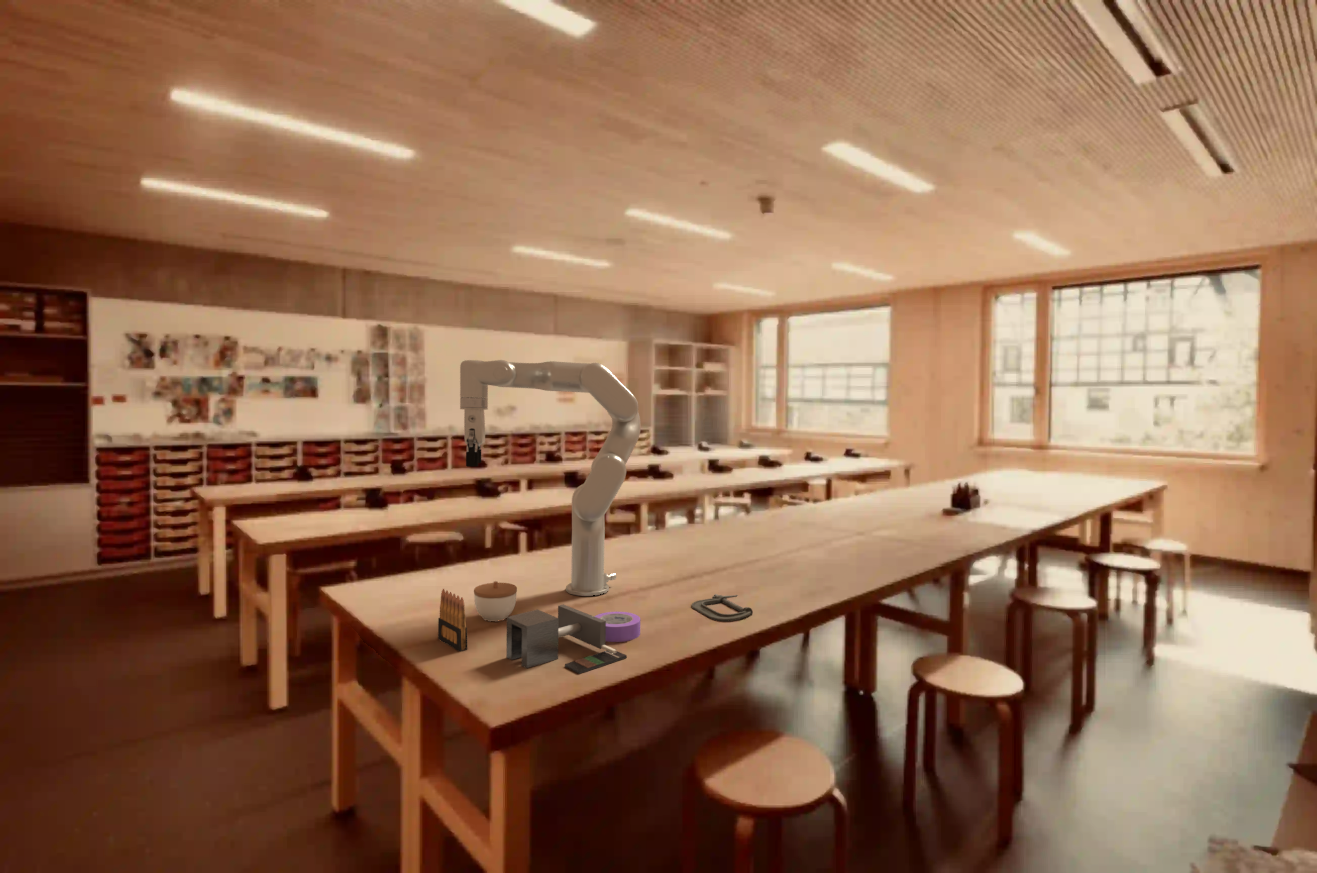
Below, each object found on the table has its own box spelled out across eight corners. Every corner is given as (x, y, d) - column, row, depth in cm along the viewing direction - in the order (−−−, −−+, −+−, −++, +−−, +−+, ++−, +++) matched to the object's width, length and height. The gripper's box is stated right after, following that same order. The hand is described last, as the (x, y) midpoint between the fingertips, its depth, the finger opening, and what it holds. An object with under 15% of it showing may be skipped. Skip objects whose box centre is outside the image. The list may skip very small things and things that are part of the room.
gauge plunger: (563, 628, 163) (563, 604, 163) (617, 652, 149) (618, 625, 148) (506, 644, 152) (506, 618, 152) (559, 671, 138) (560, 642, 138)
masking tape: (582, 633, 164) (582, 617, 164) (618, 622, 173) (618, 608, 172) (613, 646, 156) (613, 630, 156) (650, 634, 164) (650, 619, 164)
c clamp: (682, 603, 191) (682, 593, 191) (736, 597, 198) (737, 588, 197) (713, 626, 173) (713, 615, 172) (772, 619, 179) (772, 609, 179)
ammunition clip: (437, 639, 158) (437, 588, 158) (445, 637, 160) (445, 587, 159) (460, 652, 151) (460, 598, 150) (467, 649, 152) (467, 597, 151)
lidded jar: (523, 613, 178) (523, 577, 178) (506, 626, 168) (506, 589, 167) (485, 609, 180) (485, 575, 180) (466, 622, 170) (466, 585, 169)
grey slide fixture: (578, 636, 161) (578, 599, 161) (626, 657, 149) (627, 617, 148) (506, 657, 148) (506, 616, 147) (553, 682, 135) (553, 638, 135)
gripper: (485, 404, 183) (484, 467, 184) (489, 404, 200) (489, 461, 201) (456, 404, 182) (456, 467, 183) (463, 403, 199) (463, 461, 200)
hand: (473, 464), depth 192 cm, fingers open, 9 cm apart
